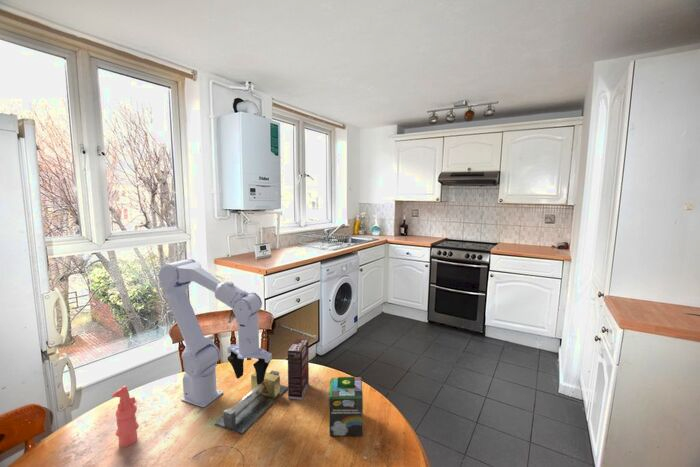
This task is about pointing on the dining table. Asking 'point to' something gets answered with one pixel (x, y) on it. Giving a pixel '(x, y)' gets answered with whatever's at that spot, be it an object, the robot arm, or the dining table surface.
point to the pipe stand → (248, 408)
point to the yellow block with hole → (272, 384)
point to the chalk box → (346, 406)
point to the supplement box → (298, 369)
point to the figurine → (126, 418)
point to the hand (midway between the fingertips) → (250, 379)
